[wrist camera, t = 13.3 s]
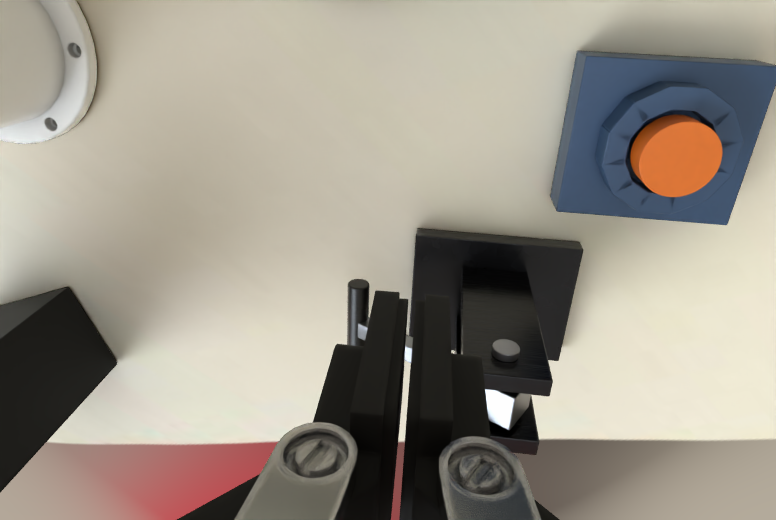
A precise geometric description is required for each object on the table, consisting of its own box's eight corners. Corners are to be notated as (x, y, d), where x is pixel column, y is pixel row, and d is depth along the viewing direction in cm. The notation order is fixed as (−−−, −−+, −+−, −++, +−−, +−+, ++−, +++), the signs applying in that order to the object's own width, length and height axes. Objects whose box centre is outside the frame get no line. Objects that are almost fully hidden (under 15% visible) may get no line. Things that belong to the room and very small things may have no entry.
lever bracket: (409, 335, 42) (390, 465, 31) (417, 227, 38) (398, 330, 27) (555, 350, 41) (592, 490, 30) (579, 241, 37) (632, 354, 26)
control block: (549, 196, 36) (561, 223, 32) (576, 50, 32) (593, 59, 28) (709, 209, 35) (741, 237, 31) (757, 60, 31) (802, 71, 27)
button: (622, 183, 31) (630, 194, 29) (640, 111, 29) (650, 118, 27) (696, 189, 30) (709, 200, 29) (718, 116, 29) (733, 124, 27)
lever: (361, 350, 38) (337, 367, 36) (363, 273, 35) (337, 287, 33) (523, 433, 31) (504, 458, 29) (541, 346, 28) (521, 368, 27)
